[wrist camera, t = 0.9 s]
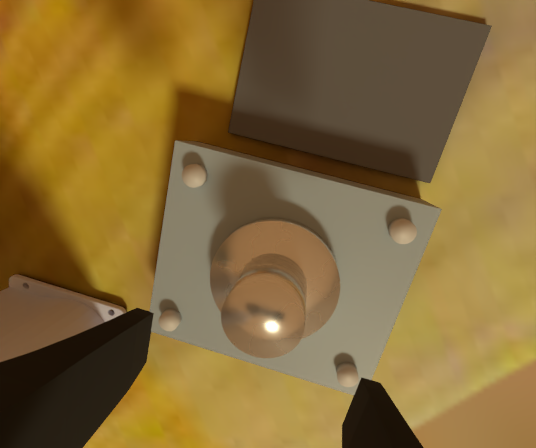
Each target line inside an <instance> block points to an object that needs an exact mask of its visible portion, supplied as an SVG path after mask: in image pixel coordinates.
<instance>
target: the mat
mask: <svg viewBox="0 0 536 448" xmlns="http://www.w3.org/2000/svg"><path fill="white" fill-rule="evenodd" d="M491 27H492V26H490V25H485V24H480V23H475V22H471V21H466V20H461V19H456V18H451V17H447V16H442V15H437V14H432V13H427V12H422V11H418V10H413V9H408V8H403V7H398V6H393V5H389V4H384V3H379V2H374V1H369V0H254V2H253V7H252V13H251V18H250V23H249V28H248V33H247V38H246V43H245V49H244V54H243V59H242V64H241V69H240V74H239V79H238V85H237V90H236V95H235V100H234V105H233V110H232V115H231V121H230V126H229V131H228V132H229V133H233V134H237V135H241V136H244V137H248V138H252V139H256V140H260V141H264V142H268V143H272V144H276V145H280V146H284V147H288V148H292V149H296V150H300V151H304V152H308V153H312V154H316V155H320V156H324V157H328V158H332V159H336V160H340V161H344V162H348V163H352V164H356V165H359V166H363V167H367V168H371V169H375V170H379V171H383V172H387V173H391V174H395V175H399V176H403V177H407V178H411V179H415V180H419V181H423V182H427V183H430V182H431V180H432V177H433V175H434V172H435V170H436V167H437V165H438V162H439V159H440V157H441V154H442V152H443V149H444V147H445V144H446V142H447V139H448V136H449V134H450V131H451V129H452V126H453V124H454V121H455V119H456V116H457V113H458V111H459V108H460V106H461V103H462V101H463V98H464V96H465V93H466V90H467V88H468V85H469V83H470V80H471V78H472V75H473V73H474V70H475V67H476V65H477V62H478V60H479V57H480V55H481V52H482V50H483V47H484V45H485V42H486V39H487V37H488V34H489V32H490V29H491Z"/></svg>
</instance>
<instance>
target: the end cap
mask: <svg viewBox="0 0 536 448" xmlns="http://www.w3.org/2000/svg"><path fill="white" fill-rule="evenodd" d="M210 286H211V292H212V295H213V298H214V301H215V303H216V305H217V307H218V309H219V311H220V312H221V323H222V327H223V330H224V332H225V334H226V336H227V338H228V339H229V340H230V342H231V343H232V344H233V345H234V346H235V347H237V348H238V349H239V350H241V351H242V352H244V353H246V354H248V355H251V356H254V357H258V358H276V357H280V356H283V355H285V354H287V353H289V352H290V351H292V350H293V349H294V348H295V347H296V346H297V345H298V344H299V342H300V340H301V339H303V338H306V337H308V336H310V335H312V334H313V333H315V332H316V331H318V330H319V329H320V328H321V327H322V326H324V325H325V324H326V322H327V321H328V320H329V319H330V317H331V316H332V314H333V313H334V311H335V308H336V306H337V303H338V300H339V295H340V277H339V272H338V267H337V263H336V260H335V257H334V255H333V253H332V251H331V249H330V247H329V246H328V244H327V243H326V242H325V241H324V239H323V238H322V237H321V236H320V235H319V234H317V233H316V232H315V231H314V230H312V229H311V228H309V227H308V226H306V225H304V224H302V223H300V222H297V221H294V220H291V219H287V218H280V217H266V218H261V219H256V220H253V221H250V222H248V223H246V224H244V225H242V226H241V227H239V228H238V229H236V230H235V231H234V232H233V233H232V234H231V235H230V236H229V237H228V238H227V239H226V240H225V241H224V242H223V243H222V244H221V246H220V247H219V249H218V250H217V252H216V254H215V256H214V258H213V261H212V265H211V270H210Z"/></svg>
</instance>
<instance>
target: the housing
mask: <svg viewBox="0 0 536 448" xmlns="http://www.w3.org/2000/svg"><path fill="white" fill-rule="evenodd" d="M441 210H442V209H440V208H438V207H436V206H434V205H432V204H430V203H428V202H426V201H424V200H422V199H419V198H415V197H411V196H407V195H403V194H400V193H396V192H392V191H388V190H384V189H380V188H376V187H372V186H368V185H365V184H361V183H357V182H353V181H349V180H345V179H341V178H337V177H333V176H329V175H326V174H322V173H318V172H314V171H310V170H306V169H302V168H298V167H294V166H291V165H287V164H283V163H279V162H275V161H271V160H267V159H263V158H259V157H256V156H252V155H248V154H244V153H240V152H236V151H232V150H228V149H224V148H221V147H217V146H213V145H209V144H205V143H201V142H197V141H179V140H175V144H174V151H173V158H172V165H171V171H170V178H169V185H168V192H167V198H166V205H165V212H164V219H163V225H162V232H161V239H160V245H159V252H158V259H157V266H156V272H155V279H154V286H153V293H152V299H151V306H150V312H152V313H154V315H153V321H152V328H151V332H154V333H157V334H160V335H163V336H167V337H170V338H173V339H176V340H179V341H183V342H186V343H189V344H192V345H195V346H198V347H202V348H205V349H208V350H211V351H214V352H218V353H221V354H224V355H227V356H230V357H233V358H237V359H240V360H243V361H246V362H249V363H253V364H256V365H259V366H262V367H265V368H268V369H272V370H275V371H278V372H281V373H284V374H287V375H291V376H294V377H297V378H300V379H303V380H307V381H310V382H313V383H316V384H319V385H322V386H326V387H329V388H332V389H335V390H338V391H342V392H345V393H348V394H351V395H355V392H356V390H357V387H358V385H359V382H360V380H361V377H362V378H366V379H369V380H372V377H373V375H374V372H375V370H376V367H377V365H378V363H379V360H380V358H381V355H382V353H383V350H384V348H385V346H386V343H387V341H388V338H389V336H390V333H391V331H392V329H393V326H394V324H395V321H396V319H397V316H398V314H399V312H400V309H401V307H402V304H403V302H404V299H405V297H406V295H407V292H408V290H409V287H410V285H411V282H412V280H413V278H414V275H415V273H416V270H417V268H418V266H419V263H420V261H421V258H422V256H423V253H424V251H425V249H426V246H427V244H428V241H429V239H430V236H431V234H432V232H433V229H434V227H435V224H436V222H437V219H438V217H439V215H440V212H441ZM266 217H280V218H287V219H291V220H294V221H297V222H300V223H302V224H304V225H306V226H308V227H309V228H311V229H312V230H314V231H315V232H316V233H317V234H319V235H320V236H321V237H322V238H323V239H324V241H325V242H326V243H327V244H328V246H329V247H330V249H331V251H332V253H333V255H334V257H335V260H336V263H337V267H338V272H339V277H340V295H339V300H338V303H337V306H336V308H335V311H334V313H333V314H332V316H331V317H330V319H329V320H328V321H327V322H326V324H325V325H324V326H322V327H321V328H320V329H319V330H318V331H316V332H315V333H313V334H312V335H310V336H308V337H306V338H303V339H301V340H300V342H299V344H298V345H297V346H296V347H295V348H294V349H293V350H292V351H290V352H289V353H287V354H285V355H283V356H280V357H276V358H258V357H254V356H251V355H248V354H246V353H244V352H242V351H241V350H239V349H238V348H237V347H235V346H234V345H233V344H232V343H231V342H230V340H229V339H228V338H227V336H226V334H225V332H224V330H223V327H222V323H221V312H220V311H219V309H218V307H217V305H216V303H215V301H214V298H213V295H212V292H211V286H210V270H211V265H212V261H213V258H214V256H215V254H216V252H217V250H218V249H219V247H220V246H221V244H222V243H223V242H224V241H225V240H226V239H227V238H228V237H229V236H230V235H231V234H232V233H233V232H234V231H235V230H236V229H238V228H239V227H241V226H242V225H244V224H246V223H248V222H250V221H253V220H256V219H261V218H266Z"/></svg>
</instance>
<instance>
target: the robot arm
mask: <svg viewBox="0 0 536 448" xmlns="http://www.w3.org/2000/svg"><path fill="white" fill-rule="evenodd" d="M111 309H112V310H113V311H114V312H112V310H111ZM153 315H154V313H152V312H149V311H145V310H142V309H139V308H136V309H134V310H131V311H129V312H126V310H125V309H124V308H123V307H121V306H118V305H115V304H112V303H109V302H106V301H102V300H99V299H96V298H93V297H89V296H86V295H83V294H80V293H76V292H73V291H70V290H67V289H64V288H60V287H57V286H54V285H51V284H47V283H44V282H41V281H38V280H35V279H31V278H28V277H25V276H22V275H18V274H16V275H13V276H11V277H10V278H9V287H8V288H6V289H4V290H2V291H0V448H83V447H84V445H85V444H86V443H87V442H88V440H89V439H90V438H91V437H92V435H93V434H94V433H95V432H96V430H97V429H98V428H99V427H100V425H101V424H102V423H103V422H104V420H105V419H106V418H107V417H108V415H109V414H110V413H111V412H112V410H113V409H114V408H115V407H116V405H117V404H118V403H119V402H120V400H121V399H122V398H123V396H124V395H125V394H126V393H127V391H128V390H129V389H130V387H131V385H132V384H133V382H134V381H135V379H136V378H137V376H138V374H139V373H140V371H141V370H142V368H143V366H144V365H145V363H146V361H147V354H148V347H149V341H150V334H151V328H152V321H153ZM342 448H423V446H422V445H421V443H420V442H419V440H418V439H417V438H416V436H415V435H414V433H413V432H412V430H411V429H410V427H409V426H408V424H407V423H406V421H405V420H404V418H403V417H402V415H401V414H400V412H399V410H398V409H397V407H396V406H395V404H394V403H393V401H392V400H391V398H390V397H389V395H388V394H387V392H386V391H385V389H384V388H383V386H382V385H381V383H378V382H375V381H372V380H369V379H366V378H362V377H361V380H360V382H359V385H358V387H357V390H356V392H355V395H354V397H353V400H352V402H351V405H350V407H349V410H348V412H347V415H346V417H345V420H344V422H343V425H342Z"/></svg>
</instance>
